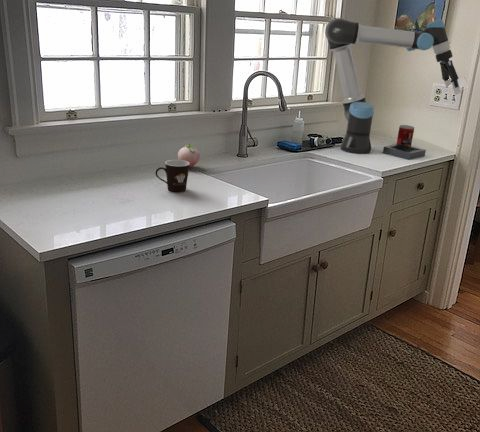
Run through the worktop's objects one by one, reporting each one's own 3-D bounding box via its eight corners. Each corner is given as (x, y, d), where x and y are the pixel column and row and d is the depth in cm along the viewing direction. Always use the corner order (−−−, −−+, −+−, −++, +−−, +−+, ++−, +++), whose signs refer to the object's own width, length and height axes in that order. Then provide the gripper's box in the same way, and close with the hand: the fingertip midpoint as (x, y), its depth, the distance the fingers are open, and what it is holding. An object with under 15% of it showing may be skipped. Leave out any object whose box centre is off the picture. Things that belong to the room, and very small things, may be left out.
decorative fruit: (173, 166, 218) (174, 142, 214) (190, 164, 222) (191, 140, 219) (185, 172, 211) (185, 147, 207) (202, 169, 215) (203, 146, 212)
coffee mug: (189, 186, 193) (190, 160, 190) (188, 194, 185) (188, 166, 182) (157, 185, 193) (158, 158, 189) (154, 192, 185) (155, 165, 181)
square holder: (408, 159, 256) (409, 153, 255) (382, 152, 266) (383, 146, 265) (424, 156, 265) (425, 150, 264) (398, 149, 275) (399, 143, 274)
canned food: (401, 148, 278) (404, 128, 275) (393, 144, 286) (396, 124, 282) (413, 148, 281) (417, 128, 277) (405, 144, 288) (409, 125, 284)
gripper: (457, 48, 246) (469, 91, 251) (443, 49, 270) (454, 89, 275) (441, 54, 248) (453, 97, 253) (429, 55, 272) (440, 94, 276)
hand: (454, 93), depth 264 cm, fingers open, 13 cm apart
